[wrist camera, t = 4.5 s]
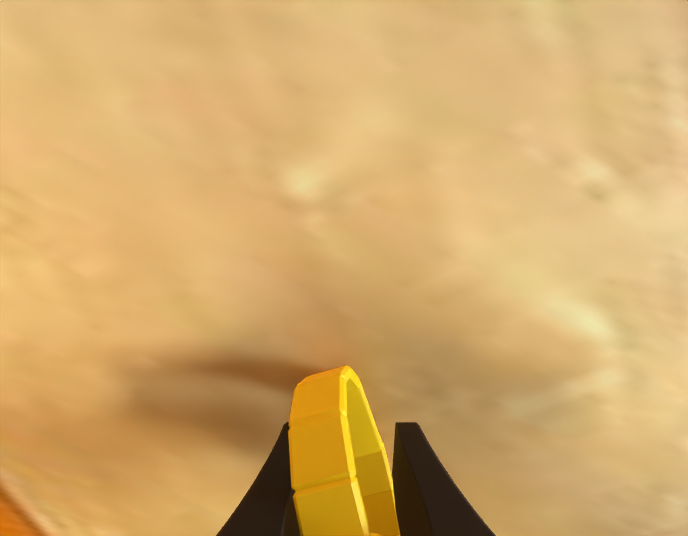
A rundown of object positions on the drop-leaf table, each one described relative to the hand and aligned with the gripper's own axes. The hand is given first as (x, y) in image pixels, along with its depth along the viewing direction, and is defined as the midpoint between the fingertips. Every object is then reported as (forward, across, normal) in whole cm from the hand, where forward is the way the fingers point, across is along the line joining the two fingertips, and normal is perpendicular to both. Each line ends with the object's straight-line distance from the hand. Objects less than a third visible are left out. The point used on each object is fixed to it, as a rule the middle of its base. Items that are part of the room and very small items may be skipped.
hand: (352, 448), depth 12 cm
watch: (+2, 0, 0) cm, 2 cm away
